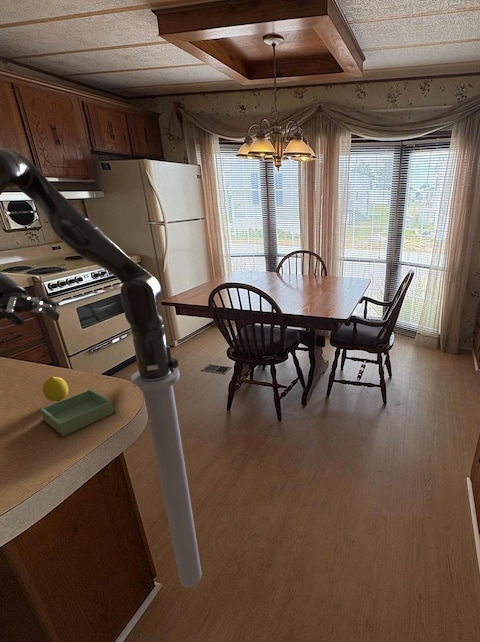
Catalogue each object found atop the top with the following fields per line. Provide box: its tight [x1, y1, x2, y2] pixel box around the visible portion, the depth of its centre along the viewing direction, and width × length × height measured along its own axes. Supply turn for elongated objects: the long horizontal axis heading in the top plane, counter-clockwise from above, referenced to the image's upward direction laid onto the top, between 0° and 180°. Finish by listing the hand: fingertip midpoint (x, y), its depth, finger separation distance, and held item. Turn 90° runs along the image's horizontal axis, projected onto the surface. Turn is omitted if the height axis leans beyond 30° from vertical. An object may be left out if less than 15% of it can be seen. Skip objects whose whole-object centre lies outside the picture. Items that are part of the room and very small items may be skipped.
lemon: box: [42, 376, 69, 402], centre depth 96 cm, size 6×6×8 cm
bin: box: [39, 388, 115, 437], centre depth 91 cm, size 12×11×4 cm
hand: (40, 320), depth 90 cm, fingers open, 8 cm apart
